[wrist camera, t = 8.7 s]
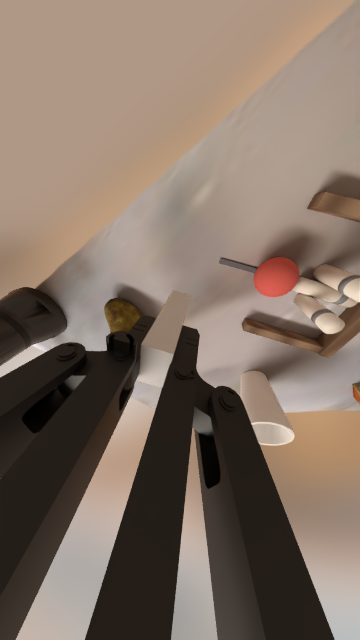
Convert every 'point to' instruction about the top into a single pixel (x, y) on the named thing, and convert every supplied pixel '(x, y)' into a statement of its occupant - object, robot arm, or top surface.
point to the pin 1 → (339, 280)
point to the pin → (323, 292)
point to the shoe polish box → (356, 391)
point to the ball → (276, 277)
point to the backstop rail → (353, 317)
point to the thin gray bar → (237, 265)
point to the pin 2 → (319, 314)
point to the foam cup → (264, 410)
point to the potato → (121, 315)
